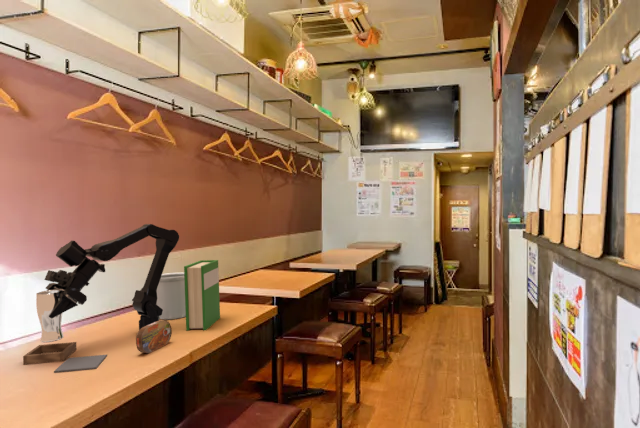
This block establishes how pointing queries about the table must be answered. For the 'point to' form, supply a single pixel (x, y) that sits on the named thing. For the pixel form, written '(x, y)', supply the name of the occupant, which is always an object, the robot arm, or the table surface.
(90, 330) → the table surface
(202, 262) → the hardback book
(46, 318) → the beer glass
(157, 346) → the tin
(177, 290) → the utensil holder
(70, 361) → the rubber mat
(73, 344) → the brown square tray
